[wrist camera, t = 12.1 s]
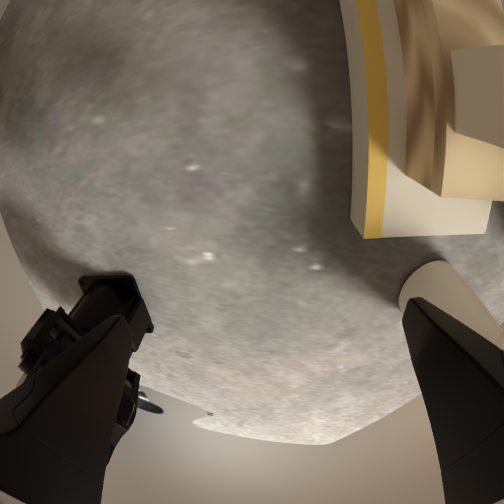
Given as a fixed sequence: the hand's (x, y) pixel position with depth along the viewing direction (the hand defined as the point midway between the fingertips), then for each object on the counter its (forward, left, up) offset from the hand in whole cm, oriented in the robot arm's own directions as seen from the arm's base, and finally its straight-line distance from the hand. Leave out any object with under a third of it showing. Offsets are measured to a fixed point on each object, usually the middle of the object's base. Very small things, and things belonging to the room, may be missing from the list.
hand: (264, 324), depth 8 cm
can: (+14, -9, -12) cm, 21 cm away
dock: (+11, +13, -12) cm, 21 cm away
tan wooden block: (+11, +13, -9) cm, 19 cm away
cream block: (+11, +7, -5) cm, 14 cm away
